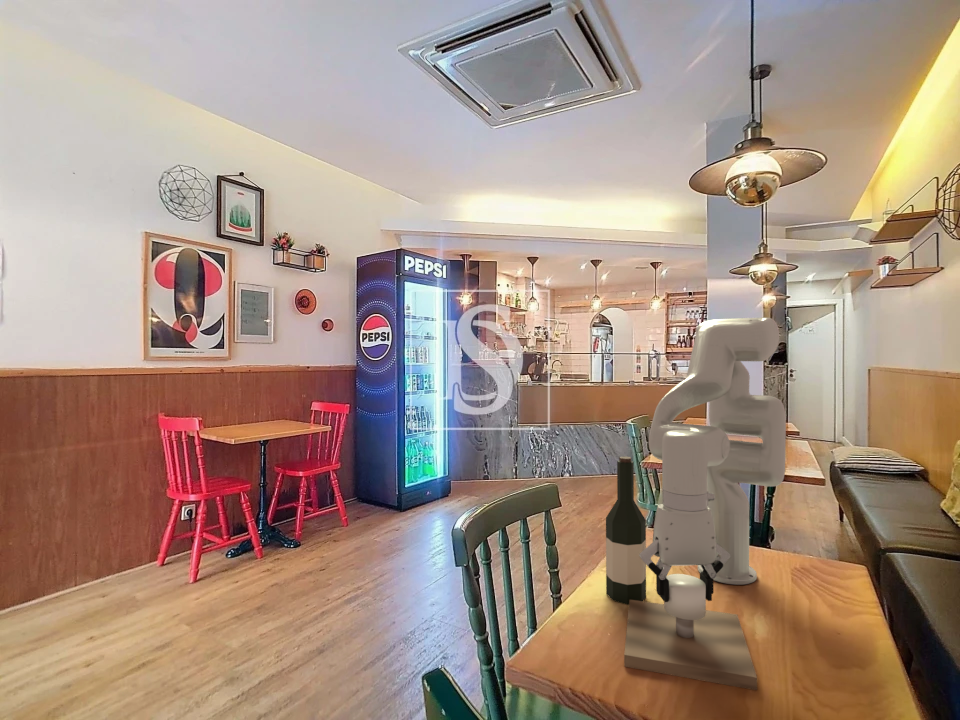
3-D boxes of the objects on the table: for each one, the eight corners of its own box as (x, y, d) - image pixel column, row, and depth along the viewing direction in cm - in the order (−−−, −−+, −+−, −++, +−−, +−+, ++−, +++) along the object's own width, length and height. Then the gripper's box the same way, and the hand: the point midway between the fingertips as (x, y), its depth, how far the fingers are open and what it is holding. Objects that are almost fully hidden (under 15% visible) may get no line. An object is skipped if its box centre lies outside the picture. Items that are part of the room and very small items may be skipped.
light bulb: (690, 594, 99) (690, 568, 99) (713, 619, 90) (713, 590, 90) (653, 595, 99) (653, 569, 99) (673, 620, 90) (673, 592, 90)
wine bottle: (648, 606, 107) (647, 462, 106) (607, 602, 109) (606, 461, 108) (643, 587, 115) (643, 454, 115) (605, 584, 117) (604, 453, 116)
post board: (629, 609, 106) (629, 580, 106) (737, 624, 100) (737, 594, 100) (624, 666, 87) (624, 631, 87) (757, 690, 81) (757, 652, 81)
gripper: (721, 493, 97) (721, 587, 97) (629, 495, 96) (630, 589, 97) (743, 505, 89) (743, 607, 90) (644, 507, 89) (644, 609, 89)
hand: (684, 597), depth 93 cm, fingers closed on light bulb, 7 cm apart
